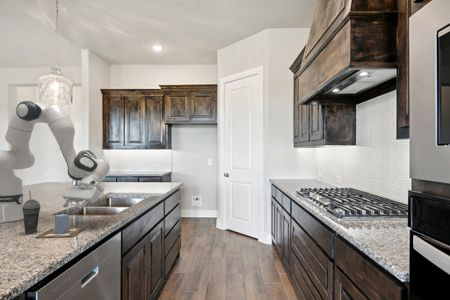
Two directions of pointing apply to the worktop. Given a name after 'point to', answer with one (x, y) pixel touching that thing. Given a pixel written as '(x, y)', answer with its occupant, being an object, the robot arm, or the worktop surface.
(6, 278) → the worktop surface
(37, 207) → the beverage cup
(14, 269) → the worktop surface
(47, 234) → the board
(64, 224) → the slate block
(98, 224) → the worktop surface
